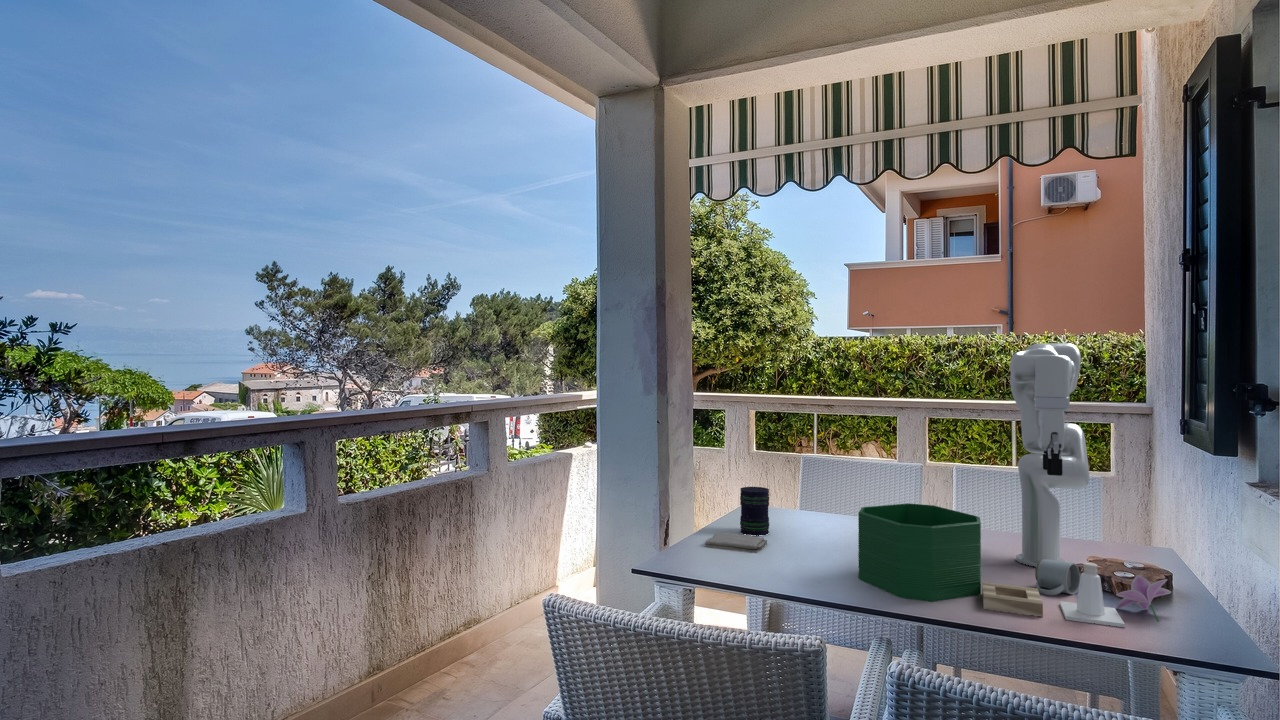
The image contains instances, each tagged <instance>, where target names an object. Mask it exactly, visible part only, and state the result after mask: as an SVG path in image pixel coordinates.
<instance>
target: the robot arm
mask: <svg viewBox="0 0 1280 720" xmlns="http://www.w3.org/2000/svg"><path fill="white" fill-rule="evenodd" d="M1081 359H1082V357H1081V353H1080V350H1079V348H1078V347H1077V346H1076V345H1075V344H1073V343H1070V342H1064V343H1063V342H1061V343H1059V342H1056V343H1055V342H1054V343H1053V342H1052V343H1049V342H1048V343H1047V342H1046V343H1034V344H1031V345H1029V346H1027V347H1026V348H1025V349H1024V350H1023V351H1018V352H1015V353H1013V355H1012V356H1011V358H1010V364H1009V370H1010V376H1009V383H1010V389H1011V395H1012V397H1013V399H1014V401H1015V404H1016V406H1017V408H1018V410H1019V412H1020V413H1019V414H1020V424H1021V427H1020V428H1021V439H1022V446H1023V447H1024V449H1025V450H1026V451H1027V452H1029V453H1028V454H1024V455H1023V456H1021V457H1019V460H1018V463H1017V465H1018V466H1017V467H1018V474H1019V480H1020V481H1019V482H1020V489H1021V491H1020V493H1021V551H1022V552H1021V553H1019V554H1017V555H1016V556H1015V559H1016V562H1018V563H1020V564H1022V563H1023V564H1022V565H1025V564H1026V565H1025V566H1028V565H1029V566H1030V567H1033V566H1034V568H1036V566H1037V564H1038V562H1039V561H1040V560H1055V561H1063V562H1067V561H1066V560H1065V559H1063V558H1061V543H1060V542H1061V539H1060V538H1061V537H1060V536H1061V529H1060V528H1061V524H1060V521H1061V520H1060V518H1061V514H1060V512H1061V511H1060V510H1061V509H1060V502H1059V500H1058V498H1057V497H1056V496H1055V495H1054V494H1053V493H1052V492H1051V491H1050V490H1049V489H1055V488H1056V489H1069V490H1081V489H1084V488H1086V487H1087V486H1088V485H1089V482H1090V469H1089V468H1090V466H1089V459H1088V452H1087V451H1088V450H1087V442H1086V438H1085V433H1084V431H1083V429H1082V428H1081V426H1079V425H1078V424H1076V423H1073V422H1072V423H1071V422H1065V412H1066V411H1067V412H1069V411H1070V407H1071V406H1070V402H1071V401H1070V399H1071V397H1070V394H1071V393H1073V392H1074V391H1075V390H1076V388H1077V384H1078V379H1079V374H1080V370H1081V363H1082V362H1081V361H1082V360H1081Z"/></svg>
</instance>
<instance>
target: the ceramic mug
mask: <svg viewBox="0 0 1280 720" xmlns="http://www.w3.org/2000/svg"><path fill="white" fill-rule="evenodd" d="M1034 572H1035V573H1034V574H1035V581H1036V582H1035V587H1036V589H1038V591H1039V594H1042V595H1044V594H1045V596H1056V595H1059V594H1061V593H1063V594H1068V595H1075V594H1076V593H1077V592H1078V591H1079V584H1080V576H1081V573H1080V568H1079V566H1078V565H1077V564H1076V563H1075V562H1070V561H1066V562H1063V561H1055V560H1040V561H1039V562H1038V564H1037V566H1036V567H1035V570H1034ZM1041 587H1042V588H1041Z"/></svg>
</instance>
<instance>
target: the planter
mask: <svg viewBox="0 0 1280 720" xmlns="http://www.w3.org/2000/svg"><path fill="white" fill-rule="evenodd" d="M857 525H858V526H857V527H858V528H857V529H858V537H857V540H858V541H857V542H858V545H857V547H858V551H857V552H858V554H857V555H858V562H857V563H858V580H859V581H862V582H864V583H866V584H868V585H870V586H873V587H875V588H878V589H880V590H882V591H884V592H886V593H889V594H890V595H893V596H895V597H898V598H899V599H900V598H901V599H908V600H916V601H921V602H922V601H923V602H930V603H933V602H939V601H946V600H952V599H959V598H965V597H973V595H974V596H979V595H982V583H981V582H982V562H981V561H982V557H981V556H982V549H981V548H982V546H981V545H982V543H981V541H982V532H981V531H982V523H981V517H980V516H978V515H975V514H974V515H973V514H971V513H970V514H969V513H965V512H961V511H957V510H954V509H949V508H946V507H945V508H944V507H941V506H937V505H932V504H920V503H899V504H898V503H895V504H887V505H886V504H885V505H884V504H883V505H873V506H862V507H861V508H860V510H859V511H858V524H857Z"/></svg>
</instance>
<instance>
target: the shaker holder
mask: <svg viewBox="0 0 1280 720" xmlns="http://www.w3.org/2000/svg"><path fill="white" fill-rule="evenodd" d="M981 582H982V583H981V595H982V604H983V605H982V607H983V610H985V609H989V610H988V611H993V610H996V611H995V612H1000V611H1004V612H1003V613H1008V612H1012V613H1011V614H1015V613H1019V614H1018V615H1022V614H1026V615H1025V616H1030V615H1034V616H1033V617H1037V616H1041V617H1040V618H1043V616H1044V611H1043V610H1044V605H1043V600H1042V597H1041V593H1040V592H1039V591H1038V589H1037V587H1036V588H1034V587H1033V588H1032V587H1026V586H1017V585H1009V584H1003V583H1002V584H1000V583H993V582H992V583H991V582H985V581H981Z"/></svg>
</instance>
